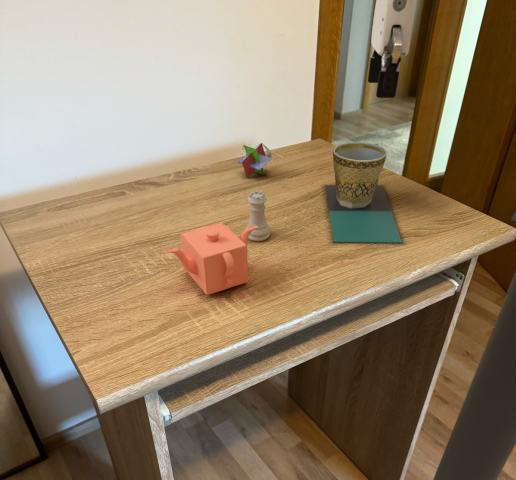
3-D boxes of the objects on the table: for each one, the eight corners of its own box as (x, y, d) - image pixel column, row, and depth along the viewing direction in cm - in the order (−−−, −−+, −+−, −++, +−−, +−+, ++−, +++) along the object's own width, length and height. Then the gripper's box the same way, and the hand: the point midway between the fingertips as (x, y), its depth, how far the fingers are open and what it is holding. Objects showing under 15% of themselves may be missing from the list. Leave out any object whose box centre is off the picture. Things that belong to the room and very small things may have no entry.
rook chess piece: (270, 230, 90) (270, 188, 84) (270, 242, 86) (270, 199, 81) (246, 230, 90) (244, 188, 84) (245, 242, 86) (243, 199, 81)
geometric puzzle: (248, 176, 103) (264, 139, 101) (226, 167, 107) (241, 132, 105) (267, 187, 109) (282, 153, 107) (245, 179, 112) (259, 145, 111)
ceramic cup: (364, 217, 92) (371, 165, 86) (319, 203, 97) (323, 153, 90) (393, 193, 100) (402, 144, 94) (351, 182, 105) (356, 134, 98)
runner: (382, 186, 103) (382, 185, 103) (402, 243, 85) (402, 242, 85) (325, 186, 104) (325, 185, 104) (333, 242, 86) (333, 241, 86)
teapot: (158, 274, 79) (150, 227, 73) (240, 250, 84) (238, 204, 79) (187, 312, 71) (181, 263, 66) (275, 283, 77) (276, 235, 71)
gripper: (437, -27, 69) (412, 103, 80) (411, -36, 82) (392, 77, 93) (384, -26, 69) (366, 103, 80) (366, -36, 82) (353, 77, 93)
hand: (380, 89), depth 87 cm, fingers open, 9 cm apart
